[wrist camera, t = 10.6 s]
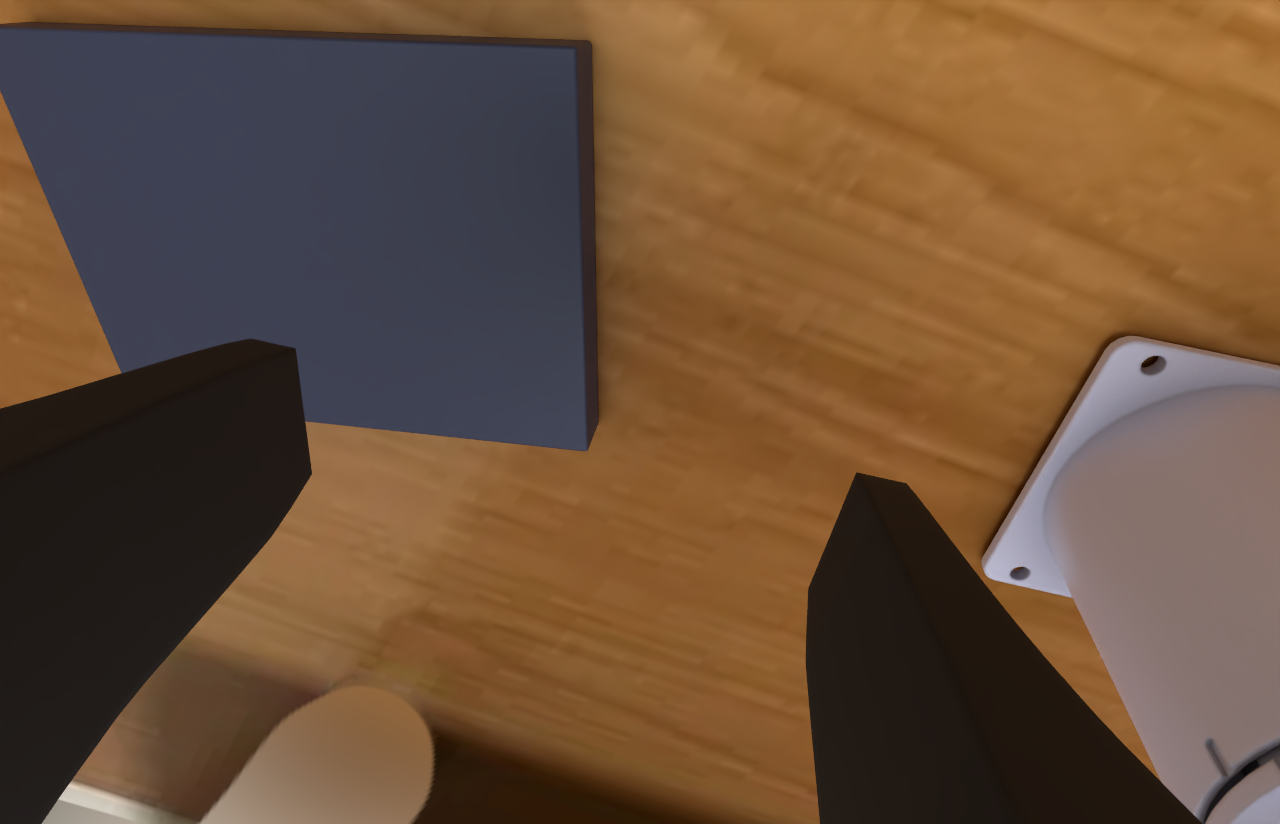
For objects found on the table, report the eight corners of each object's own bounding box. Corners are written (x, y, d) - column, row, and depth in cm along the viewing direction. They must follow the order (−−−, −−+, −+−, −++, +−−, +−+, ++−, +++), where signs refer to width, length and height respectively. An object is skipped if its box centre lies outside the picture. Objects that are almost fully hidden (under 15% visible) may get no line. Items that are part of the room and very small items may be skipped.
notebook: (592, 40, 15) (576, 46, 14) (598, 423, 21) (587, 452, 19) (29, 22, 17) (-30, 25, 16) (168, 379, 22) (133, 404, 21)
